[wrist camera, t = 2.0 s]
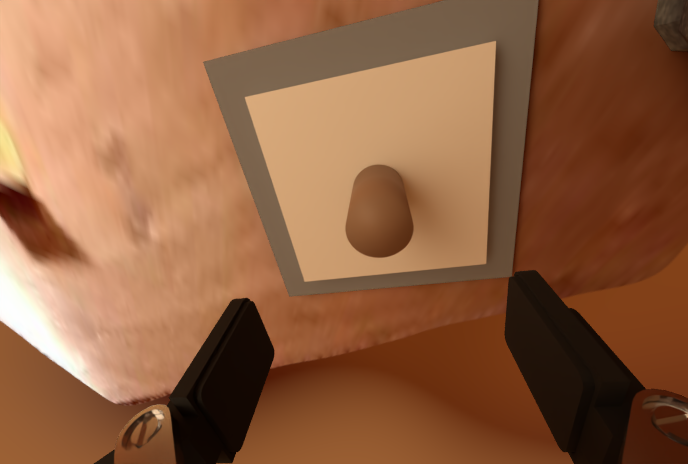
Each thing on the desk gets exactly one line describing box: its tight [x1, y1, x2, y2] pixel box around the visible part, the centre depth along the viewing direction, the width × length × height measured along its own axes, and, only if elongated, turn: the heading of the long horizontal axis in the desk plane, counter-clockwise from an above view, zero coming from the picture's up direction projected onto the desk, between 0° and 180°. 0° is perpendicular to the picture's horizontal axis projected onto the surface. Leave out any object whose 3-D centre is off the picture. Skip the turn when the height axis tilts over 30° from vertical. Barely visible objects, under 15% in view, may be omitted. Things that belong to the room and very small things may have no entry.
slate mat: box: [203, 0, 539, 297], centre depth 22 cm, size 20×20×1 cm
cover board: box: [245, 41, 496, 282], centre depth 18 cm, size 15×15×7 cm
